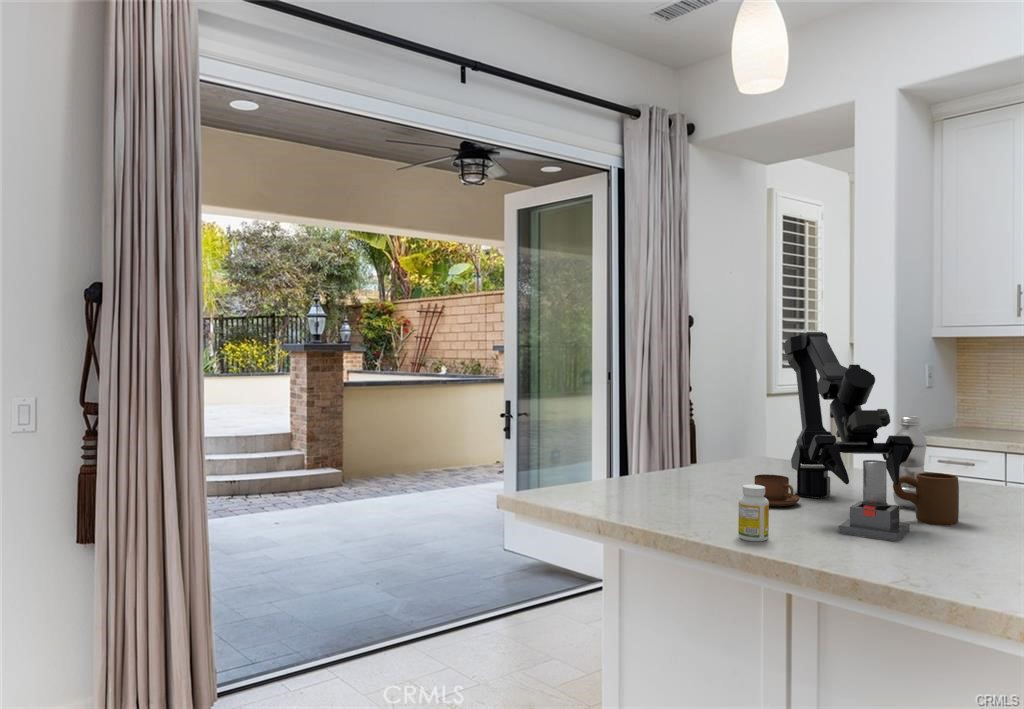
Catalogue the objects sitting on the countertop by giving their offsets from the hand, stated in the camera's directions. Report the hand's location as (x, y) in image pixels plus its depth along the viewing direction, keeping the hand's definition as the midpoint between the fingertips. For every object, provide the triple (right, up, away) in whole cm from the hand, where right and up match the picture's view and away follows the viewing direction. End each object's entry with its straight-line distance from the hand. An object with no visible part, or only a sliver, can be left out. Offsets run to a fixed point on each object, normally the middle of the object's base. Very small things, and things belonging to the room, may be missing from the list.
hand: (872, 483), depth 143 cm
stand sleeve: (0, -9, -1) cm, 9 cm away
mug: (+15, -9, +8) cm, 19 cm away
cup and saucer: (-10, -9, +26) cm, 29 cm away
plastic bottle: (+19, -9, +21) cm, 30 cm away
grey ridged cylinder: (0, -7, -1) cm, 8 cm away
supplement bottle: (-25, -9, -5) cm, 27 cm away
